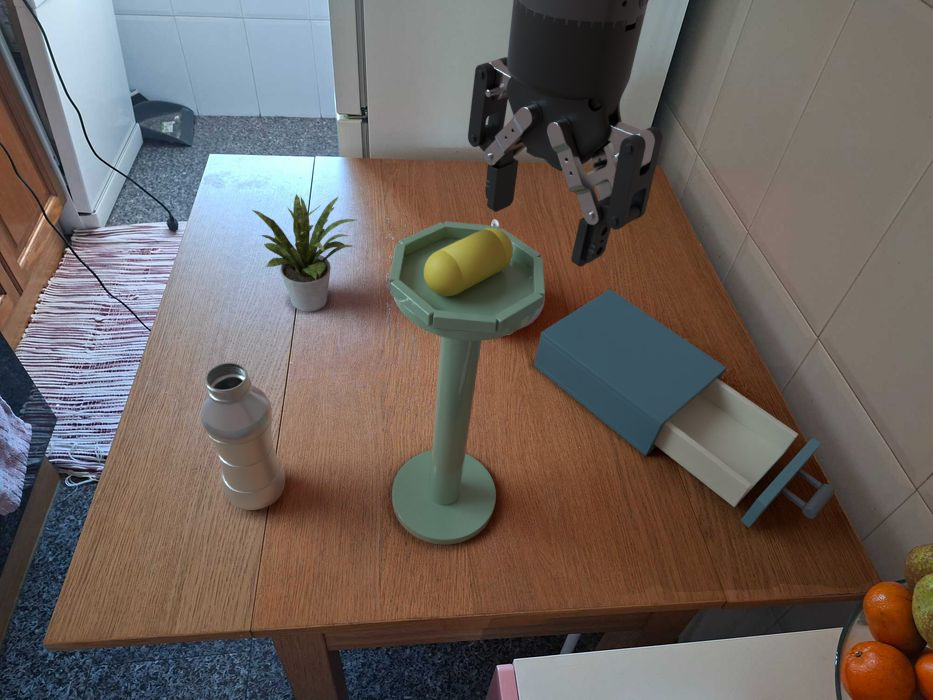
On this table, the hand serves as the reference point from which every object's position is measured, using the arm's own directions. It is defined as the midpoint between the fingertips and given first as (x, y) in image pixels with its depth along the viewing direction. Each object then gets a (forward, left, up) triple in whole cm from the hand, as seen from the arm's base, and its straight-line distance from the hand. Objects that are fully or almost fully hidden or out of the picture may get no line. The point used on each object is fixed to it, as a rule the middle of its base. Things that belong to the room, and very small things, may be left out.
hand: (540, 232), depth 48 cm
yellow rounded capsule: (+4, +3, -4) cm, 6 cm away
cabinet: (+2, -28, -38) cm, 47 cm away
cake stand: (+4, +3, -38) cm, 39 cm away
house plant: (+41, -4, -39) cm, 56 cm away
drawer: (-15, -28, -37) cm, 49 cm away
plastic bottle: (+18, +19, -39) cm, 47 cm away
